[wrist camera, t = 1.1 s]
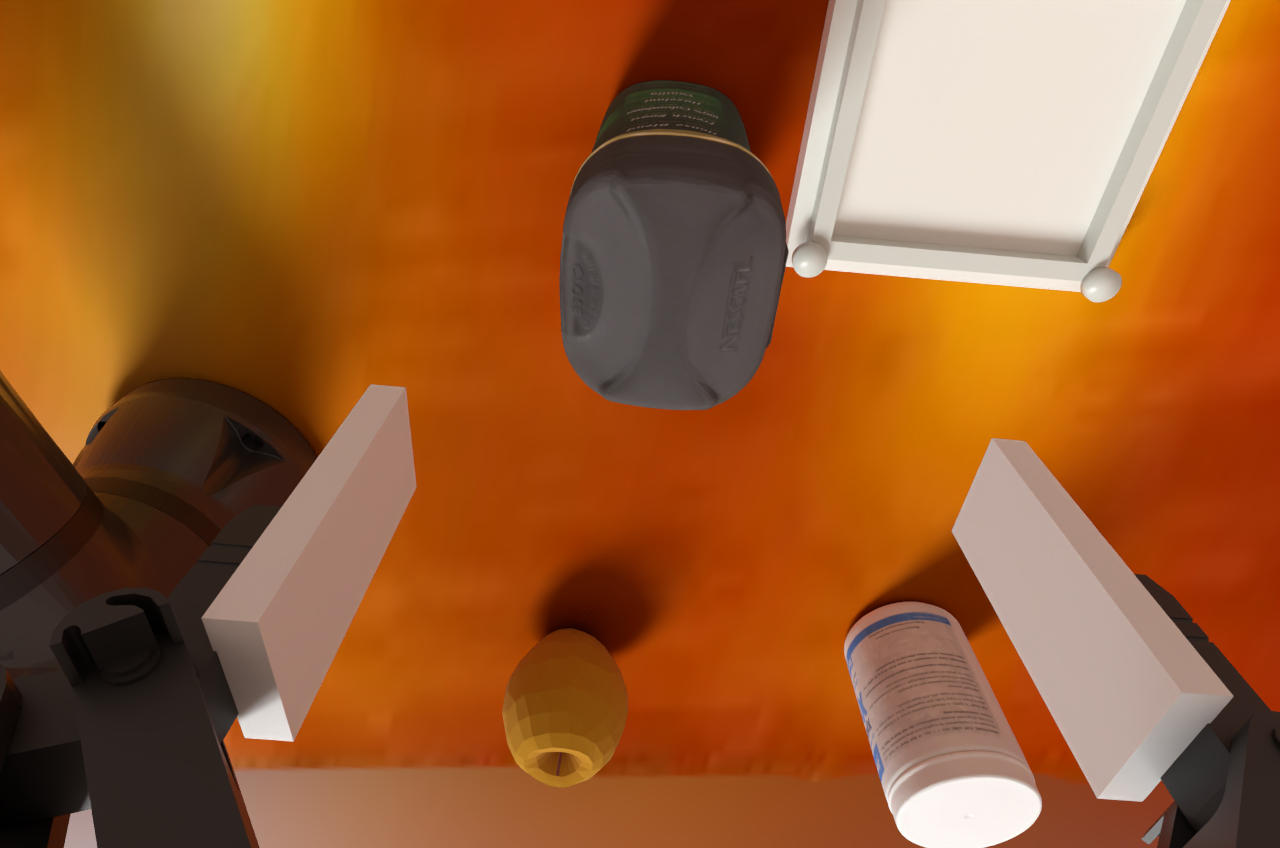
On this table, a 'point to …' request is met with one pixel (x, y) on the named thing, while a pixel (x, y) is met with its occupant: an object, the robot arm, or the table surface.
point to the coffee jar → (671, 252)
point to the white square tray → (989, 136)
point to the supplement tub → (937, 730)
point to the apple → (565, 708)
